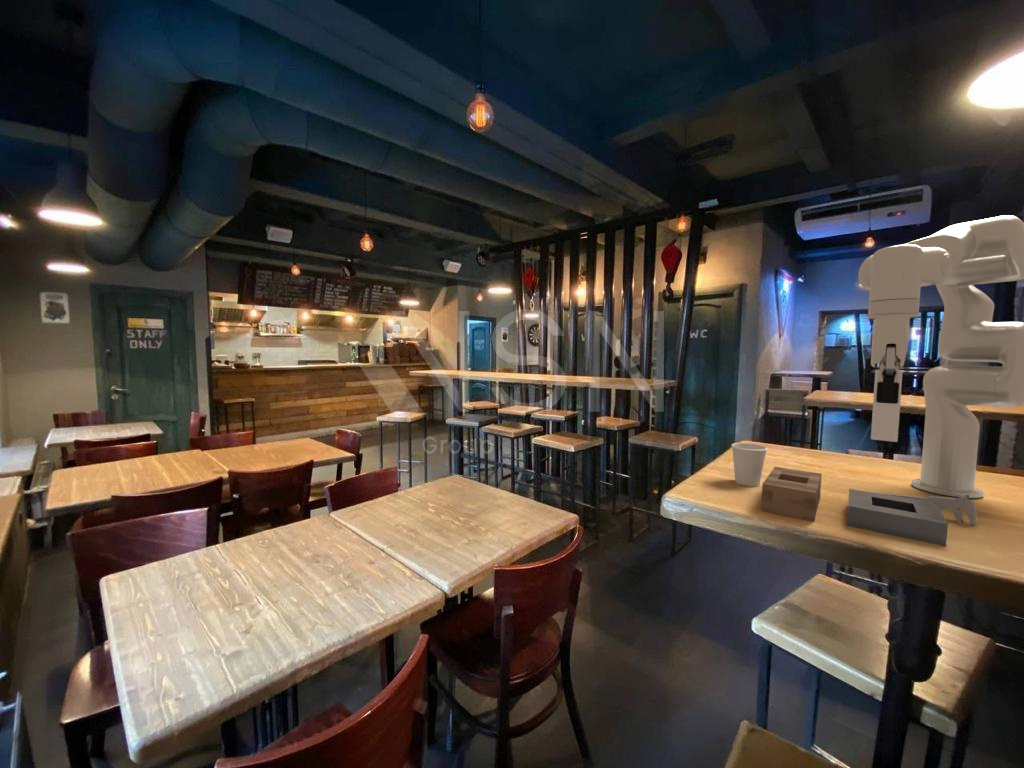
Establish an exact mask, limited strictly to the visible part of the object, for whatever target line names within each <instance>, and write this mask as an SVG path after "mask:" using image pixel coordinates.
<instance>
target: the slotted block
mask: <svg viewBox="0 0 1024 768" xmlns="http://www.w3.org/2000/svg"><path fill="white" fill-rule="evenodd" d="M821 486H822V473H820V472H814V471H806V470H800V469H793V468H787V467H780V466H774V467H773V468H772V470H771V471H770V472H769V474H768V475H767V477H766V479H765V480H764V481H763V482H762V486H761V490H762V491H761V505H760V506H761V507H760V509H761V510H763V512H766V511H767V512H768V513H771V512H772V514H776V515H780V514H781V516H785V517H791V518H796V519H800V520H804V521H810V522H815V519H816V515H817V511H818V508H819V505H818V504H820V500H821V492H822V491H821V489H822V487H821ZM761 510H760V511H761Z"/></svg>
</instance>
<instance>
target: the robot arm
mask: <svg viewBox="0 0 1024 768" xmlns="http://www.w3.org/2000/svg"><path fill="white" fill-rule="evenodd" d="M857 277H858V282H859V284H860V286H861V287H862V288H863V289H865V290H866V291H869V294H868V295H869V296H868V311H867V314H868V315H867V320H868V319H869V320H874V321H873V327H872V337H871V341H872V343H871V353H870V354H871V355H870V366H872V367H873V368H876V364H877V365H879V370H880V378H879V383H877V398H876V401H877V402H878V403H891V404H897V403H898V395H899V383H898V373H899V370H900V368H902V367H904V365H905V362H906V357H907V356H906V355H907V352H908V344H909V335H910V334H909V333H910V322H911V321H910V320H911V318H919V316H920V315H919V313H920V302H921V301H920V300H921V288H922V287H928V286H934V285H935V287H936V289H937V292H938V293H939V295H940V298H941V299H942V302H943V307H944V310H943V311H944V312H943V317H942V322H941V328H940V334H939V339H938V350H937V351H938V355H940V356H939V357H941V358H942V359H944V360H947V361H950V362H970V363H971V362H972V363H973V362H974V363H976V362H978V363H980V362H981V363H999V364H1002V366H998V365H997V366H994V365H993V366H992V365H990V366H989V365H987V366H986V365H965V364H963V365H961V364H959V365H957V364H956V365H955V364H953V365H951V364H947V365H940V366H935V367H932V368H930V369H928V370H927V371H926V372H925V374H924V375H923V379H922V387H923V394H924V401H925V402H924V405H925V406H924V407H925V416H924V431H923V441H922V455H921V465H920V467H921V468H920V477H918V478H914V479H912V480H911V486H912V487H915V488H916V489H919V490H921V491H925V492H929V493H932V494H937V495H943V496H946V497H952V498H958V494H961V495H962V496H963V497H964V496H965V495H968V494H969V498H970V499H980V498H983V497H984V491H982V489H980V488H978V487H976V486H975V481H976V480H975V479H976V472H977V471H976V470H977V462H978V461H977V460H978V451H979V450H978V449H979V438H980V428H981V427H980V422H979V420H978V418H977V416H975V414H974V413H973V412H972V411H971V410H970V409H969V408H968V406H977V407H978V406H979V407H992V408H1006V409H1011V408H1012V409H1013V408H1019V407H1021V406H1023V405H1024V322H1023V321H995V322H994V321H993V317H994V310H995V303H994V301H993V300H992V299H991V298H990V297H989V296H988V295H987V294H986V293H984V292H983V291H982V290H980V289H978V288H977V287H975V285H985V284H986V285H987V284H993V283H994V284H996V283H1004V282H1016V281H1022V280H1024V221H1023V220H1021V218H1019V217H1017V216H1015V215H1009V214H1008V215H1007V214H1006V215H1004V214H1003V215H999V216H995V217H994V216H993V217H989V218H984V219H978V220H972V221H966V222H960V223H955V224H952V225H949V226H947V227H945V228H943V229H940V230H939V231H936V232H935V233H933V234H931V235H929V236H926V237H922V238H919V239H916V240H912V241H909V242H907V243H903V244H897V245H892V246H887V247H882V248H880V249H878V250H876V251H874V253H873V254H871V255H869V256H868V257H867V258H865V259H864V261H863V262H862V263H861V265H860V267H859V269H858V276H857ZM883 370H884V371H883Z"/></svg>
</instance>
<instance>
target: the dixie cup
mask: <svg viewBox="0 0 1024 768" xmlns="http://www.w3.org/2000/svg"><path fill="white" fill-rule="evenodd" d="M730 445H731V448H732V449H731V450H732V460H733V469H734V481H735V483H736V482H737V483H736V484H738V483H739V484H738V485H740V484H742V485H741V486H744V485H747V486H746V487H752V486H755V487H759V486H760V485H761V479H762V475H763V469H764V466H765V459H766V454H767V451H768V447H767V446H765V445H762V444H757V443H751V442H735V443H732V444H730ZM758 485H759V486H758Z"/></svg>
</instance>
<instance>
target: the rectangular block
mask: <svg viewBox="0 0 1024 768" xmlns="http://www.w3.org/2000/svg"><path fill="white" fill-rule="evenodd" d="M874 371H875V374H874V384H873V401H872V414H871V416H872V417H871V430H870V431H871V432H870V440H874V441H882V442H883V441H884V442H892V443H893V442H894V443H898V440H899V439H898V438H899V427H900V412H901V397H902V387H903V386H902V385H903V384H902V382H903V372H904V371H903V370H902V369H901V370H900V369H899V373H898V383H899V395H898V403H897V404H891V403H878V402H877V401H876V398H877V383H879V378H880V369H874ZM883 371H884V370H883Z"/></svg>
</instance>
